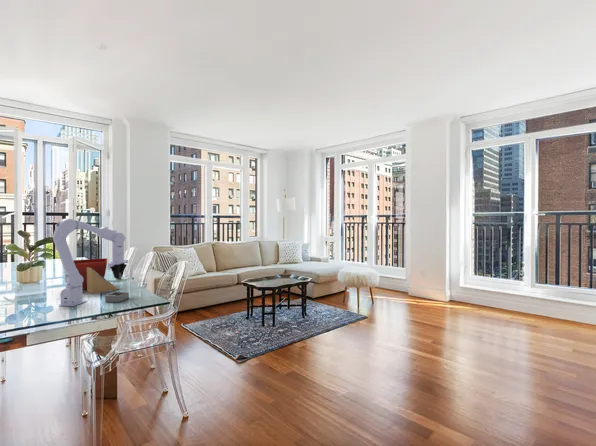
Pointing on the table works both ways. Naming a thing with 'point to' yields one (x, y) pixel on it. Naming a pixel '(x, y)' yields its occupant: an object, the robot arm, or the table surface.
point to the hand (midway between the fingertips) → (118, 277)
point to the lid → (118, 279)
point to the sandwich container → (97, 283)
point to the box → (117, 297)
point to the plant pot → (94, 264)
